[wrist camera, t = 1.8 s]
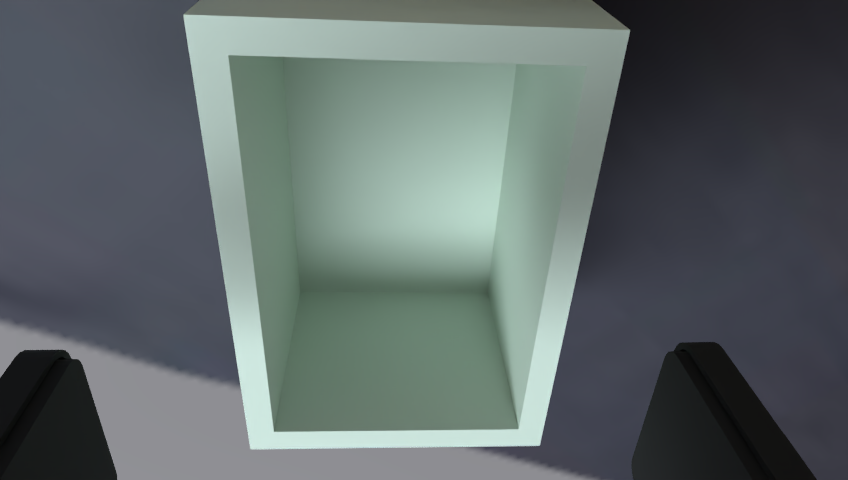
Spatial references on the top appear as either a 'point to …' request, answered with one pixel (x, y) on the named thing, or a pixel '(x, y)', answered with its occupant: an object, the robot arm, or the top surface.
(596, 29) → the box
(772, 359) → the top surface
